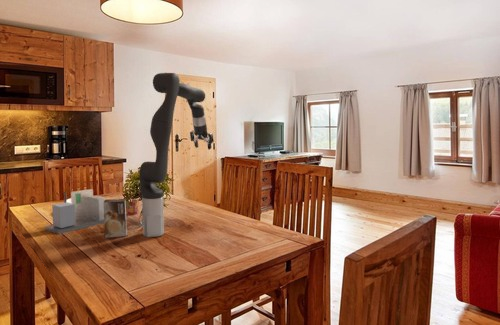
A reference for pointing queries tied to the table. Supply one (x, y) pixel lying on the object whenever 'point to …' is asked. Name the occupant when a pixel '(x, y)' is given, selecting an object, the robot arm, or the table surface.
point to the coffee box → (115, 217)
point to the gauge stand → (83, 211)
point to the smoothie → (132, 207)
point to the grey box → (63, 214)
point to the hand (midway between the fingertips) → (203, 148)
